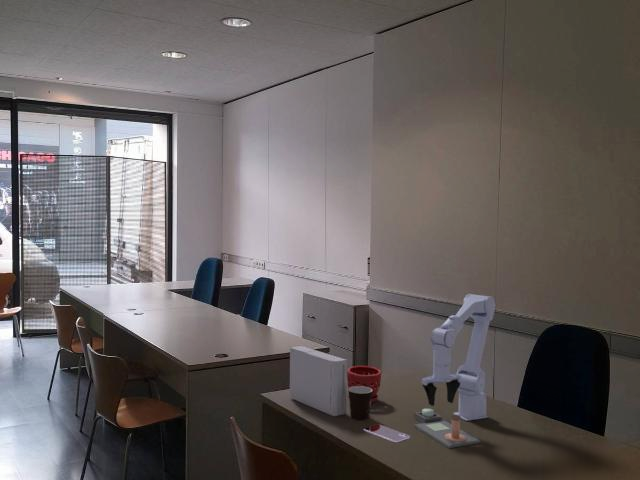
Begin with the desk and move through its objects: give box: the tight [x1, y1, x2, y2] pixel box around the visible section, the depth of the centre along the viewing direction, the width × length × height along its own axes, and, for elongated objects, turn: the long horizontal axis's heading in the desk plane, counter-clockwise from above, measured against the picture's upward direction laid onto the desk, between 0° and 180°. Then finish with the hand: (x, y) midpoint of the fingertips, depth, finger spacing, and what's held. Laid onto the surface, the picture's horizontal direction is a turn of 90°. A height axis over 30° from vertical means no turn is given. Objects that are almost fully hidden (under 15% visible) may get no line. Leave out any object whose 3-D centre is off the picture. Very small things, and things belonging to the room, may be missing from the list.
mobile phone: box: [363, 423, 411, 443], centre depth 204 cm, size 8×1×15 cm
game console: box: [289, 345, 348, 417], centre depth 231 cm, size 6×27×20 cm, turn 39°
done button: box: [421, 408, 435, 418], centre depth 217 cm, size 4×4×2 cm
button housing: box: [413, 411, 443, 424], centre depth 217 cm, size 7×7×2 cm
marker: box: [451, 414, 461, 439], centre depth 199 cm, size 3×3×7 cm
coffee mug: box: [347, 386, 373, 421], centre depth 220 cm, size 12×9×10 cm
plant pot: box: [346, 365, 382, 404], centre depth 238 cm, size 13×13×12 cm
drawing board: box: [414, 419, 481, 449], centre depth 204 cm, size 12×20×1 cm, turn 23°
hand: (440, 403), depth 208 cm, fingers open, 7 cm apart
